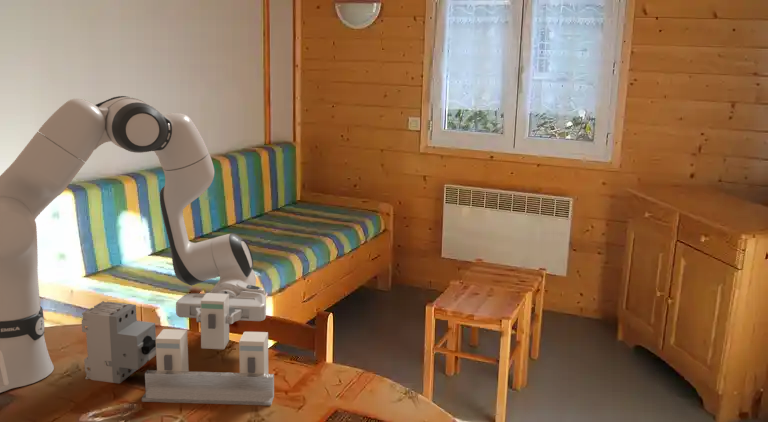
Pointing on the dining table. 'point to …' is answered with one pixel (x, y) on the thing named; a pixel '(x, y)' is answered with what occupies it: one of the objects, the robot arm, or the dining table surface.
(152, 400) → the rail
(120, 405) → the dining table surface
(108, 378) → the circuit breaker
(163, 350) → the module left
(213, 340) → the loose module
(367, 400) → the dining table surface
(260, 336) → the module right
